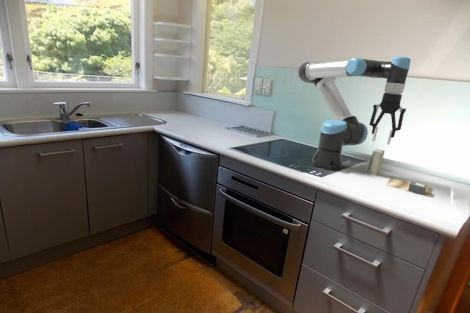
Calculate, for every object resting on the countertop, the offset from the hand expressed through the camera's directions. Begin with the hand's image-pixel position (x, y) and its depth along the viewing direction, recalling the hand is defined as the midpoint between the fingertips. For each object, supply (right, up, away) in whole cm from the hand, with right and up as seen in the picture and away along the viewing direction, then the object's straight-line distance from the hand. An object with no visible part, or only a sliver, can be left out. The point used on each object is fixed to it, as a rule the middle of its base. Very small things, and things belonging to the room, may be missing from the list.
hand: (380, 142), depth 137 cm
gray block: (+8, -22, -14) cm, 27 cm away
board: (+8, -21, -9) cm, 24 cm away
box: (-1, -16, +5) cm, 17 cm away
